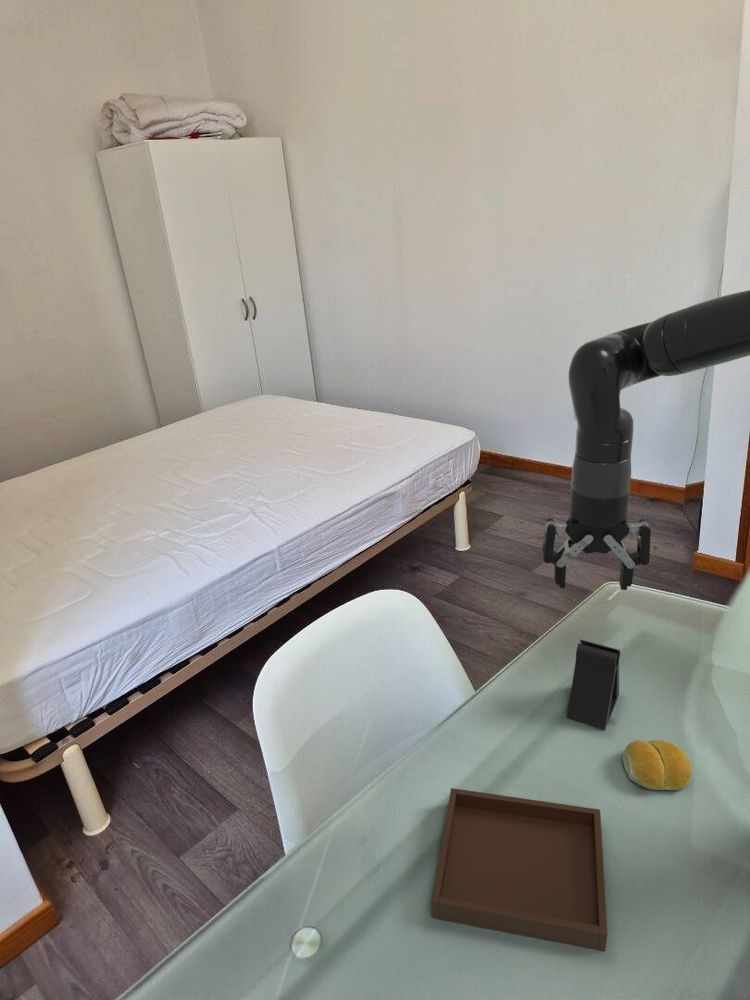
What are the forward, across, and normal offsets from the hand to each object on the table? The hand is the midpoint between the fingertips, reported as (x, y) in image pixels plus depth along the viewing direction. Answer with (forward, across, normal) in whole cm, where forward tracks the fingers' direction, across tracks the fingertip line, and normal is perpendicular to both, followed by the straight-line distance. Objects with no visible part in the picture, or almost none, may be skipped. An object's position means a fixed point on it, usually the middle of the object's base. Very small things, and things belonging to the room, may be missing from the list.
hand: (592, 586), depth 99 cm
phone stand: (+24, +2, +2) cm, 24 cm away
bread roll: (+24, +9, -11) cm, 28 cm away
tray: (+24, -11, -28) cm, 39 cm away
